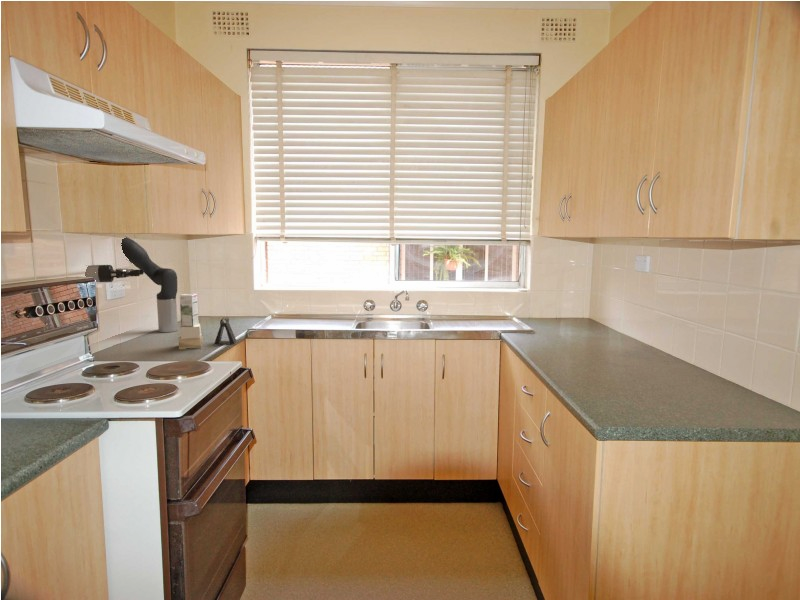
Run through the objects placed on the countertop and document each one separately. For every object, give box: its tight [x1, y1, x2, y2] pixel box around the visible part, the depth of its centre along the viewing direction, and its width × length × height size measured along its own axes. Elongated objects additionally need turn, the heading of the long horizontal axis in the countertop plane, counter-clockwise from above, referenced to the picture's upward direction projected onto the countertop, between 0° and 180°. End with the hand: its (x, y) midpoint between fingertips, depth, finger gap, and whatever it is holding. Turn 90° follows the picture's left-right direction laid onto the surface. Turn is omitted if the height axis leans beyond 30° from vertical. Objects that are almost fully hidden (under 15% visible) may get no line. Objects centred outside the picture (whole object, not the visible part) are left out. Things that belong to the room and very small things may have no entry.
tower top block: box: [179, 323, 202, 339], centre depth 219 cm, size 8×8×5 cm
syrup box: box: [179, 293, 200, 327], centre depth 217 cm, size 6×6×14 cm
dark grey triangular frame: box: [214, 316, 237, 345], centre depth 227 cm, size 9×6×12 cm, turn 99°
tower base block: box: [178, 333, 204, 350], centre depth 219 cm, size 9×9×5 cm
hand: (141, 272), depth 212 cm, fingers open, 8 cm apart
